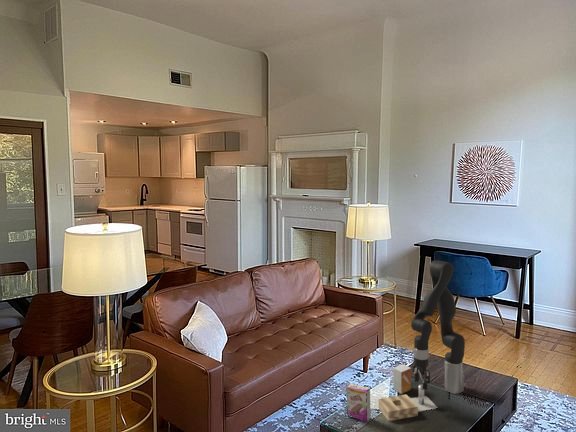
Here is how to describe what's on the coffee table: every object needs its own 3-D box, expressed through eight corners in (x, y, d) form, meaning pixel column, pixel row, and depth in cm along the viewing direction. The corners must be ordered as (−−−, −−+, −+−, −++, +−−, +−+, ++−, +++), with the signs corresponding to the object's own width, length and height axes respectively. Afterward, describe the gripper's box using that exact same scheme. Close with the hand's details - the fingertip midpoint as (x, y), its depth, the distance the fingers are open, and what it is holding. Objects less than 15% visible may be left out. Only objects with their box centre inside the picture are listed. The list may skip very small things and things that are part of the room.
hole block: (406, 403, 231) (406, 394, 230) (417, 415, 219) (417, 406, 219) (378, 407, 228) (378, 399, 227) (388, 421, 216) (388, 411, 215)
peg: (422, 401, 231) (422, 383, 230) (425, 404, 228) (425, 386, 227) (417, 402, 231) (417, 384, 229) (420, 405, 228) (420, 387, 226)
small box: (401, 394, 240) (401, 372, 238) (393, 389, 245) (392, 367, 243) (411, 389, 244) (411, 367, 242) (402, 385, 249) (402, 363, 248)
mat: (425, 396, 236) (425, 395, 236) (437, 408, 225) (437, 407, 225) (405, 399, 234) (405, 399, 234) (416, 412, 222) (416, 411, 222)
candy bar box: (346, 417, 221) (345, 386, 219) (350, 411, 225) (349, 382, 223) (367, 423, 215) (366, 392, 213) (371, 417, 219) (370, 387, 217)
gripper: (434, 361, 220) (434, 391, 222) (420, 349, 234) (420, 377, 236) (421, 362, 218) (421, 393, 220) (408, 351, 232) (407, 379, 234)
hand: (420, 385), depth 228 cm, fingers open, 8 cm apart
